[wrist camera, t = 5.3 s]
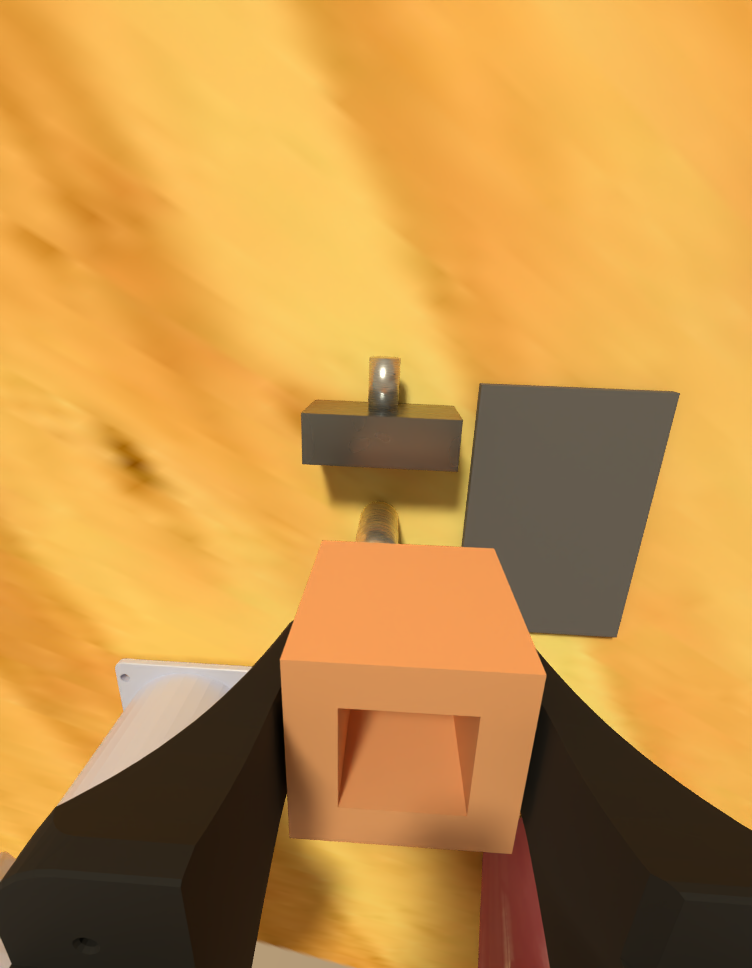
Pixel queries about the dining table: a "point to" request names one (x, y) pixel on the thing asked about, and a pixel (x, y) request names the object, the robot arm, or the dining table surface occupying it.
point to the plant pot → (511, 910)
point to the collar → (408, 699)
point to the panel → (566, 496)
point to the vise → (381, 439)
